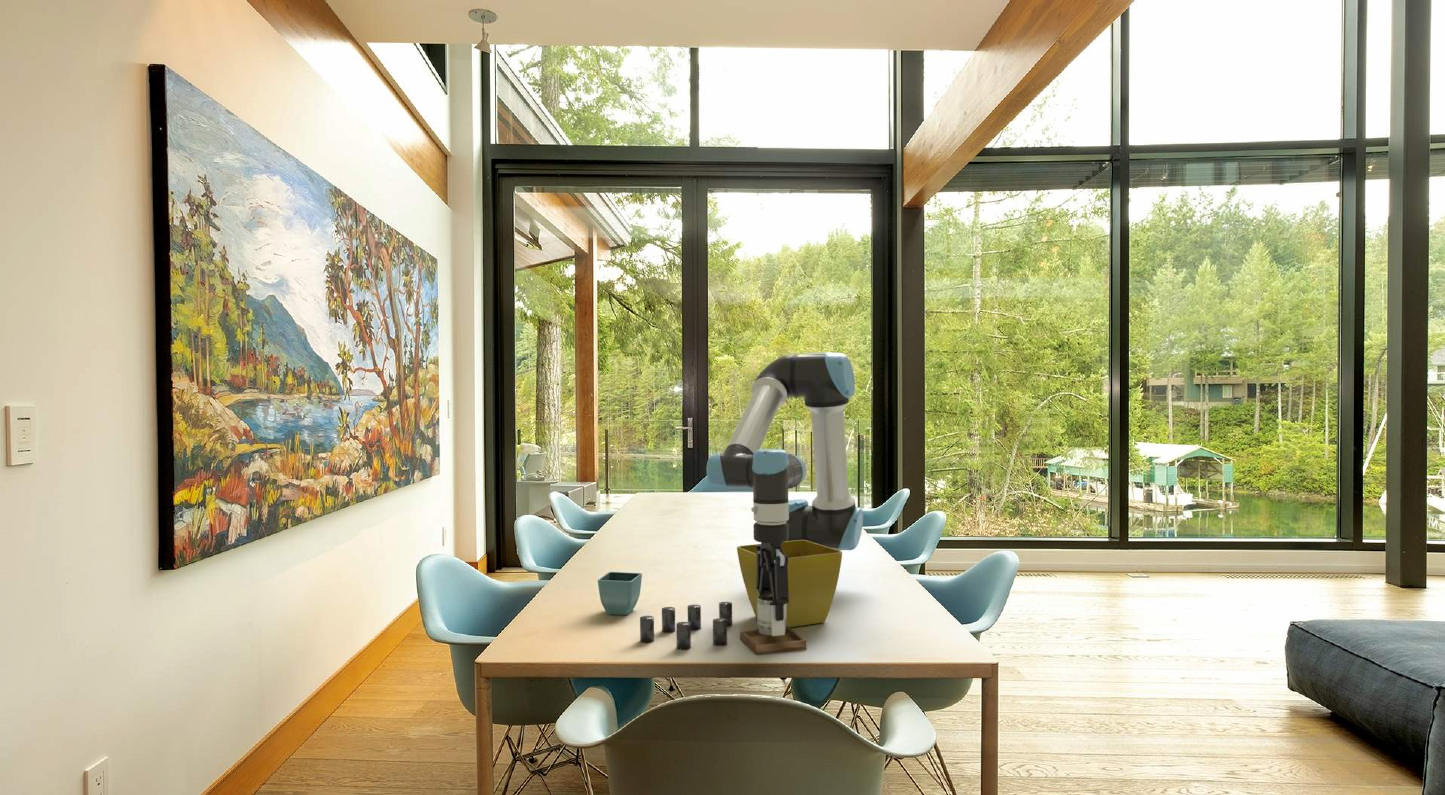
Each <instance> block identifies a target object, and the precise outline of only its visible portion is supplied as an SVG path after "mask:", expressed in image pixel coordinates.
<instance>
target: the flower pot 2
mask: <svg viewBox="0 0 1445 795" xmlns="http://www.w3.org/2000/svg"><path fill="white" fill-rule="evenodd" d="M756 545H761V543H755V544H744V545H739V546H736V551H737V552H736V553H737V558H738V563H739V567H740V572H741V576H742V580H743V583H744V587H745V591H746V593H747V597H748V600H749V602H750V605H751V608H752V611H753V613H754V616H755V617H756V618H757V598H758V597H759V596H760V594H759V590H757V589H756V564H757V555H756ZM781 546H782V550H783V556H784V555H787V556H788V566H787V568H788V593H789V603H786V620H787V623H786V626H788V627H789V628H794V627H801V626H807V625H815V624H820V623H825V622H826V620H827V618H828V615H829V613H830V609H831V607H832V604H833V601H834V598H835V595H836V590H837V587H838V581H839V577H840V571H841V566H842V558H843V550H841V551H839V550H836V549H833V548H830V547H826V546H823V545H820V544H817V543H814V542H810V541H807V540H794V541H785V542H782V543H781Z"/></svg>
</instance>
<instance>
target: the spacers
mask: <svg viewBox="0 0 1445 795" xmlns="http://www.w3.org/2000/svg"><path fill="white" fill-rule="evenodd" d="M701 611H702V608H701V605H700V604H689V605H687V621H678V622H677V623H676V607H674V606H665V607H661V632H662V633H667V634H671V633H675V632H676V649H678V650H684V651H685V650H686V651H687V650H689V649H691V648H692V644H691V643H692V637H691V636H692V634H691V632H692V631H699V630H701V629H702V620H701V619H702V616H701V614H702V612H701ZM732 626H733V602H731V601H722V602H718V617H717V618H713V619H712V644H713V646H718V647H719V646H720V647H721V646H726V645H727V644H728V627H732ZM639 639H640V640H639V641H640V642H641V643H643V644H644V643H645V644H648V643H652V642H653V643H654V642H655V618H654V616H653V615H643V616H640V617H639Z"/></svg>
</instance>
